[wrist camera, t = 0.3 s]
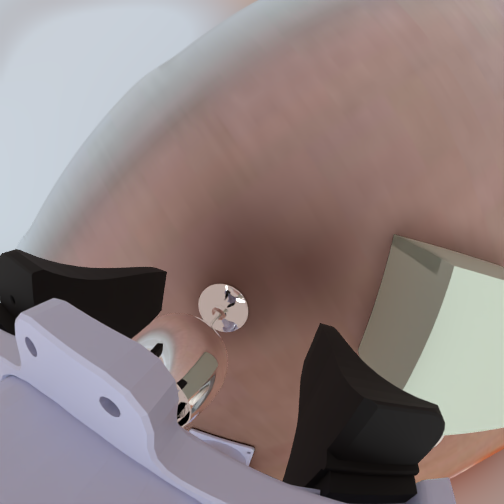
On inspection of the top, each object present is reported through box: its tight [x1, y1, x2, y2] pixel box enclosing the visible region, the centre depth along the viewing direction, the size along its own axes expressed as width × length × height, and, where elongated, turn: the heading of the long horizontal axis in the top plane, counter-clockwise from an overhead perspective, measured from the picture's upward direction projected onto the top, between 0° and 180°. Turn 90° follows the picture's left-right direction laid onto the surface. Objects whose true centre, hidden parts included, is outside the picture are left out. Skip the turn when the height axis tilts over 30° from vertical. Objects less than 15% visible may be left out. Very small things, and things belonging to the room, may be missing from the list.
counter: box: [358, 234, 504, 435], centre depth 14 cm, size 10×12×10 cm
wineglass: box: [132, 283, 249, 427], centre depth 17 cm, size 6×6×12 cm
